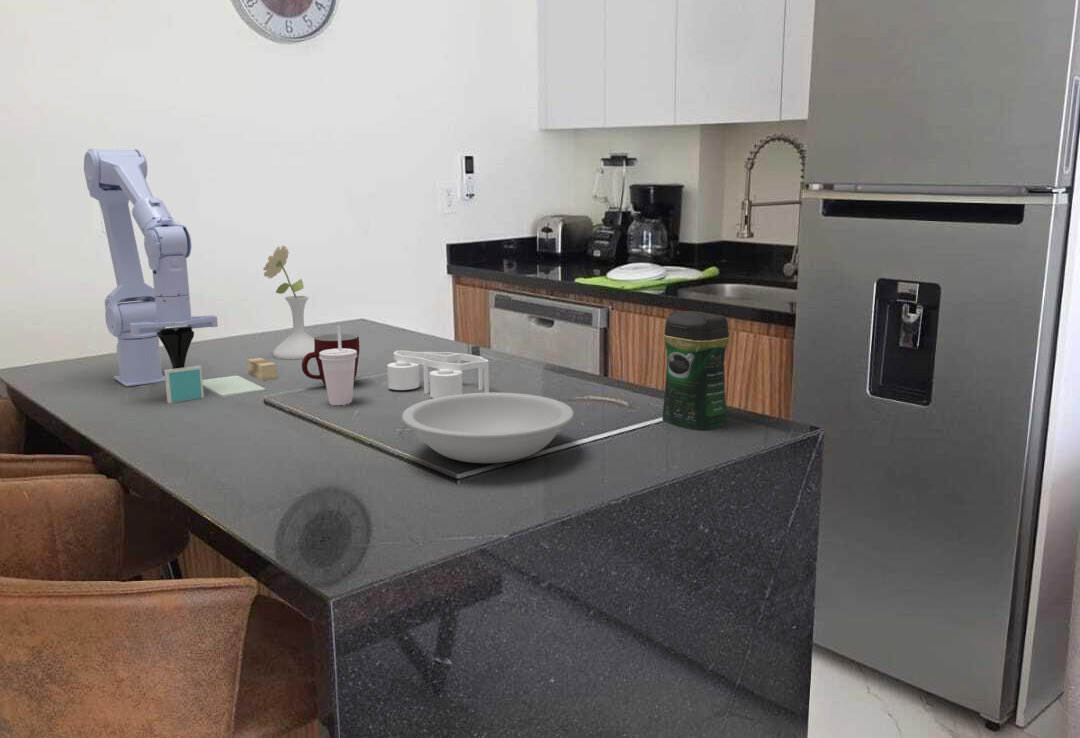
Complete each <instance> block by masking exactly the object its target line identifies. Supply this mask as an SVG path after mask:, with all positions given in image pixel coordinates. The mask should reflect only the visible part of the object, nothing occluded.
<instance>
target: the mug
mask: <svg viewBox="0 0 1080 738" xmlns="http://www.w3.org/2000/svg"><path fill="white" fill-rule="evenodd" d="M313 338H314V352H311V353H308V354H307V355H306V356H305V357H304V359H302V362H301V370H302V372H303V374H304V375H305V376H306V377H308V378H310V379H312V380H321V381H322V383H323V384H324V386H325V387H326V382H325V377H324V371H323V366H322V360H321V359H319V357H320V355H319V353H320V352H321V351H323V350H328V349H338V333H329V334H327V333H326V334H322V335H321V334H320V335H317V336H315V337H313ZM341 346H342V348H346V349H354V350H356V351H357V357H356V358H355V370H354V381H355V380H356V377H357V373H358V372H357V371H358V364H359V357H360V337H359V335H357V334H352V333H341ZM311 359H316V364H317V367H318V371H319V372H318V373H319V374H312V373H311V372H310V371H309V369H308V364H309V362H310V360H311Z"/></svg>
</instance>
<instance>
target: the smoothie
mask: <svg viewBox="0 0 1080 738" xmlns="http://www.w3.org/2000/svg"><path fill="white" fill-rule="evenodd" d="M341 327H342V326H341V325H337V326H336V328H337V329H336V330H337V334H338V349H328V350H323V351H321V352H320V353H319V355H320V357H319V359H321V360H322V366H323V371H324V377H325V382H326V386H325V388H326V393H327V398H328V404H329V403H330V404H332V405H343V406H347V405H346V404H348V405H350V404H349V403H351V402H352V403H353V394H354V384H355V383H354V382H355V380H354V370H355V358H356V357H357V351H356V350H354V349H346V348H342V346H341V334H342V331H341V330H342V329H341ZM352 403H351V404H352ZM330 404H329V405H330ZM332 405H331V406H332Z"/></svg>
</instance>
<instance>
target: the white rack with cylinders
mask: <svg viewBox="0 0 1080 738" xmlns="http://www.w3.org/2000/svg"><path fill="white" fill-rule="evenodd" d="M393 360H394V361H395V362H391V363H388V364H387V367H386V368H387V388H388V389H389V390H390V389H391V390H395V391H406V390H415V389H418V388H419V387H420V365H421V366H422V367H423V392H424V394H429V397H430V398H431V399H433V398H438V397H443V396H450V395H458V394H463V371H468V370H474V369H475V370H476V369H477V370H478V373H477V374H478V390H479V391H483V390H484V393H490V376H489V375H490V374H489V373H490V372H489V370H490V367H489V360H488V359H487V358H484V357H483V356H479V355H474V354H468V353H460V352H449V351H443V352H441V351H440V352H439V351H411V350H395V351H394V352H393ZM462 361H466V362H464V363H462ZM454 362H455V363H454ZM429 368H432V369H436V370H432V371H430V372H429Z"/></svg>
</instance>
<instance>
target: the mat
mask: <svg viewBox="0 0 1080 738" xmlns="http://www.w3.org/2000/svg"><path fill="white" fill-rule="evenodd" d="M202 381H203V386H204V387H203V388H205V389H207V390H208V391H210V392H212V393H213V394H216V396H219V397H220V398H229V397H233V396H238V395H240V396H241V395H244V394H249V393H250V394H251V393H255V392H262V391H266V388H265V387H262V386H260V385H258V384H256V383H254V382H252V381H250V380H247V379H246V378H244V377H242V376H239V375H238V374H237V375H229V376H223V377H222V376H221V377H215V378H208V379H202Z"/></svg>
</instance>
